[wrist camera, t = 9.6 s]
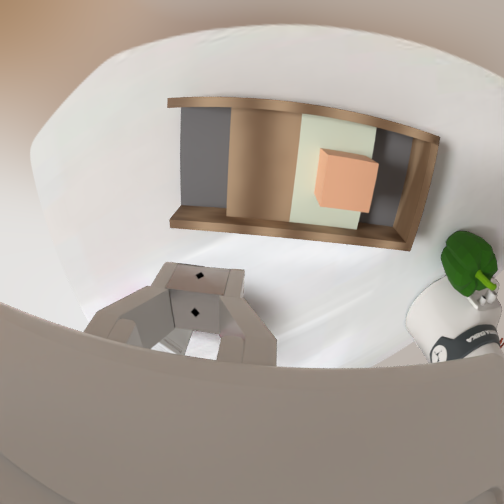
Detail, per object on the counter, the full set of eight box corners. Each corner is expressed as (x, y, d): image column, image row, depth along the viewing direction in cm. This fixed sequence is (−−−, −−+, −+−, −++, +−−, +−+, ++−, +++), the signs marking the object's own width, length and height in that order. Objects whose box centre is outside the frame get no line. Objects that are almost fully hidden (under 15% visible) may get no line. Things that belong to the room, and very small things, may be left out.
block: (365, 155, 26) (378, 163, 22) (357, 199, 28) (368, 212, 25) (320, 147, 26) (328, 154, 22) (314, 193, 28) (320, 206, 25)
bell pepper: (425, 249, 34) (457, 291, 25) (461, 212, 30) (501, 246, 22) (445, 278, 36) (473, 319, 27) (478, 246, 33) (511, 280, 24)
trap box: (418, 130, 26) (440, 137, 22) (395, 232, 33) (410, 251, 29) (183, 98, 26) (167, 98, 22) (182, 210, 34) (170, 227, 29)
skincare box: (206, 295, 40) (187, 359, 30) (188, 309, 42) (168, 370, 32) (174, 270, 38) (144, 330, 28) (158, 286, 40) (128, 344, 30)
